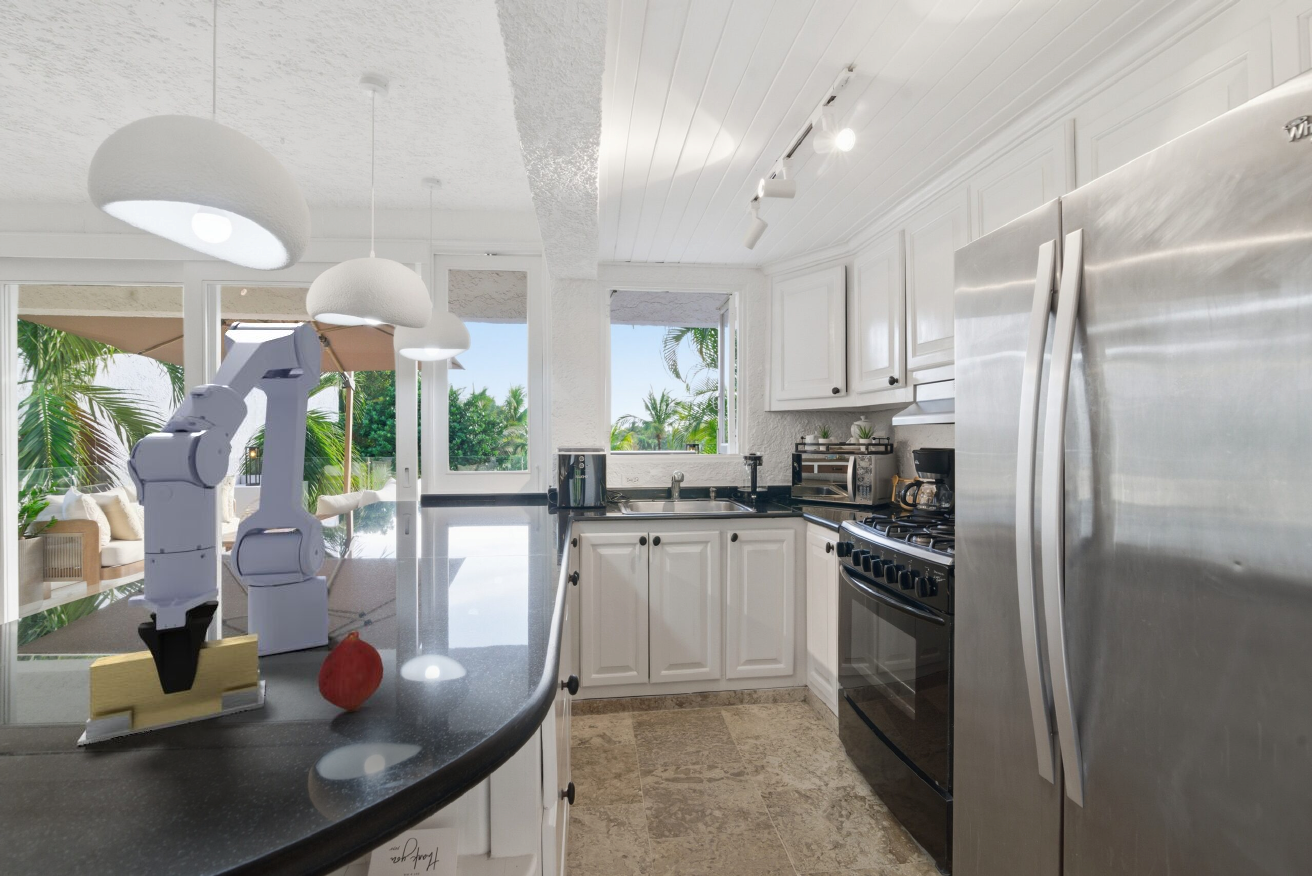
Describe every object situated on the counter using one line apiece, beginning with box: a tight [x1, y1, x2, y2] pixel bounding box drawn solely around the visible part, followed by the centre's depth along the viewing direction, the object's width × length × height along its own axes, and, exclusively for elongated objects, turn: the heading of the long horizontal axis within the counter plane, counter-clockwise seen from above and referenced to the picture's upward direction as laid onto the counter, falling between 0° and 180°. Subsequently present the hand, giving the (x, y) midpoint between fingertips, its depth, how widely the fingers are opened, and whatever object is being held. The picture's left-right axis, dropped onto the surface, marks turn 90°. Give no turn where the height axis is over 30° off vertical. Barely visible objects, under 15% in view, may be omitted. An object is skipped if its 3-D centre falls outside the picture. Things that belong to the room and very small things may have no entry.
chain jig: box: [77, 669, 266, 746], centre depth 60 cm, size 14×8×2 cm, turn 123°
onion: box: [317, 630, 384, 712], centre depth 59 cm, size 6×6×8 cm
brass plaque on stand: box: [89, 634, 259, 723], centre depth 60 cm, size 13×3×6 cm, turn 123°
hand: (181, 683), depth 60 cm, fingers open, 4 cm apart
